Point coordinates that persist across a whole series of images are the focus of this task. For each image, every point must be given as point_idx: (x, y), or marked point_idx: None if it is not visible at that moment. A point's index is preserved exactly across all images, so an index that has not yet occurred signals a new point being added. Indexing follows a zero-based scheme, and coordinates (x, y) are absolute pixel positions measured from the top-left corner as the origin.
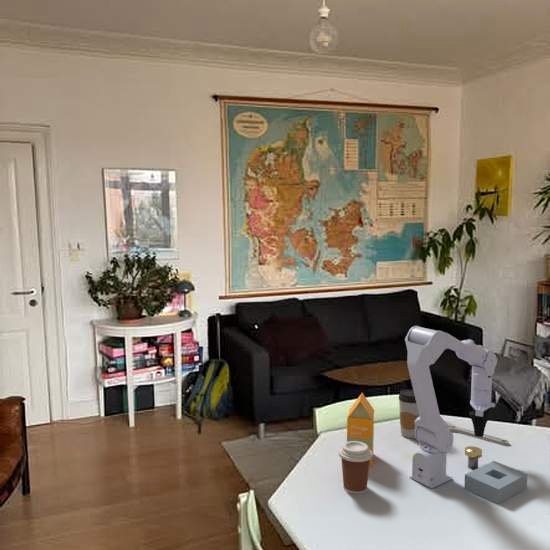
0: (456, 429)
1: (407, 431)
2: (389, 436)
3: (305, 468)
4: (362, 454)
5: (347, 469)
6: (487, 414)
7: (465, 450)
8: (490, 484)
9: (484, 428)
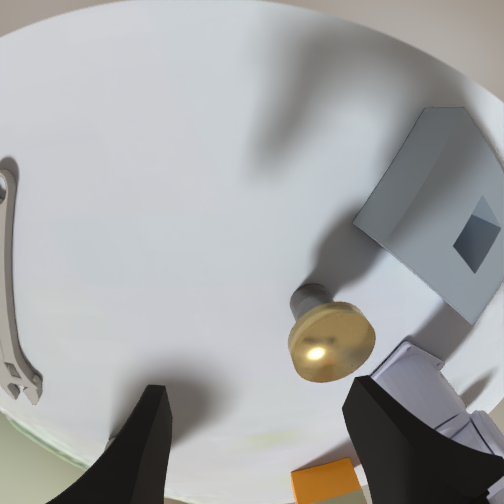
0: (17, 360)
1: None
2: (173, 471)
3: (363, 483)
4: None
5: None
6: (134, 487)
7: (342, 374)
8: None
9: (418, 418)
